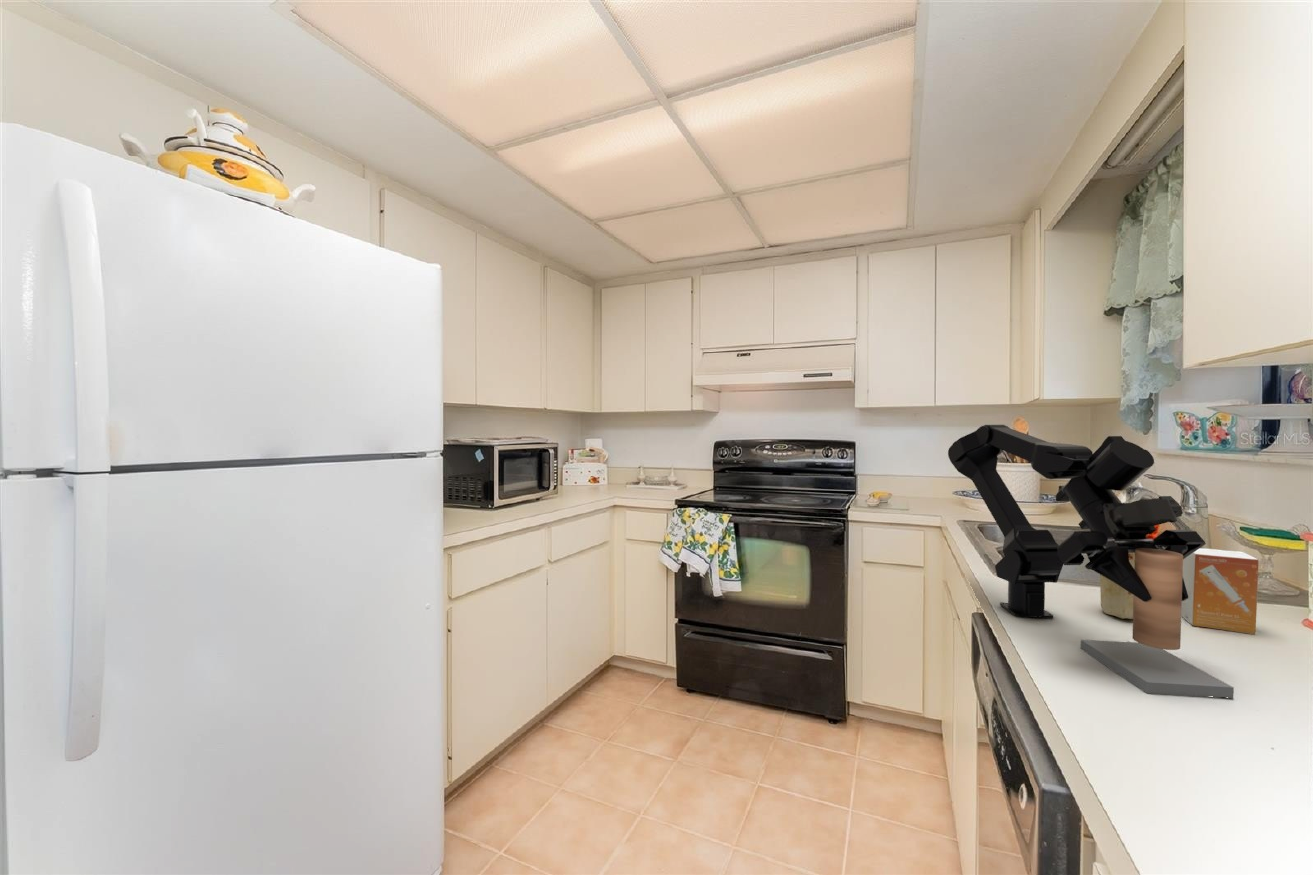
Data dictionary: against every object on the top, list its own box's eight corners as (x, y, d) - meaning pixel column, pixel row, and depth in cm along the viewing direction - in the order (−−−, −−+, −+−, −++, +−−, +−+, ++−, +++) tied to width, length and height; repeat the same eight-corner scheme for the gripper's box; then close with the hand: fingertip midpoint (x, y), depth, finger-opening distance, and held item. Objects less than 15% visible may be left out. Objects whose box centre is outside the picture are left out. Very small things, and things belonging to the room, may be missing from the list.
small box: (1192, 626, 94) (1194, 553, 94) (1179, 615, 100) (1180, 545, 99) (1257, 635, 90) (1259, 559, 90) (1240, 623, 96) (1242, 550, 95)
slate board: (1080, 648, 85) (1080, 639, 85) (1151, 652, 83) (1151, 643, 83) (1146, 693, 71) (1147, 682, 71) (1233, 698, 70) (1233, 687, 70)
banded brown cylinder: (1130, 632, 80) (1133, 546, 79) (1177, 641, 77) (1180, 551, 76) (1134, 643, 76) (1136, 553, 75) (1183, 653, 73) (1186, 558, 72)
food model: (1149, 627, 94) (1151, 514, 93) (1099, 618, 98) (1102, 510, 97) (1144, 611, 101) (1146, 506, 101) (1098, 604, 106) (1100, 503, 105)
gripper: (1073, 477, 79) (1142, 572, 68) (1194, 476, 80) (1280, 570, 69) (1033, 520, 87) (1088, 611, 77) (1142, 518, 88) (1212, 608, 77)
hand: (1166, 600), depth 75 cm, fingers closed on banded brown cylinder, 5 cm apart
